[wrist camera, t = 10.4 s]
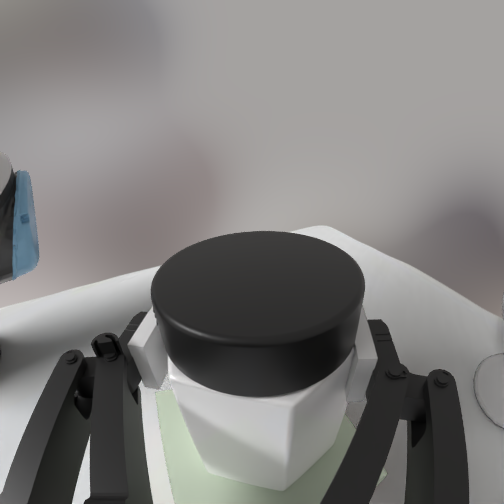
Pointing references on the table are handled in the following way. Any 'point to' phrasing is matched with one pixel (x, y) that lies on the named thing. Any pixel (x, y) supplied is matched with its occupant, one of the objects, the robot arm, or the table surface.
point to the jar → (260, 349)
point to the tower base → (229, 491)
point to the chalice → (491, 385)
